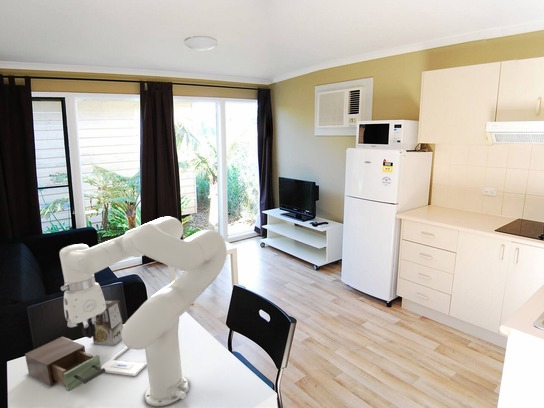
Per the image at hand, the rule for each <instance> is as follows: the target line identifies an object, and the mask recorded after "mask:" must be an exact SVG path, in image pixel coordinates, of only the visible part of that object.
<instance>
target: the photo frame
mask: <svg viewBox="0 0 544 408" xmlns="http://www.w3.org/2000/svg"><path fill="white" fill-rule="evenodd" d="M129 349H130V348H129V347H127V346H126V345H125V346H124V347H123V348H122V349H121V350H119V351H118V352H117V353H115V355H113V356H112V357H111V358H109V359H108V360H107V361H106V362H105V363H103V364H102V365H101V369H102V368H104V369H105V372H104V373H107V374H114V375H115V374H116V375H122V376H123V375H124V376H131V377H132V376H133V377H136V376H137V375H138V374H139V373H140V372H141V371H142V370H143V369H144V368H145V367H147V361H146V360H145V362H144V363H142V362H134V361H126V360H117V358H118V357H119V356H121V355H122V354H123V353H125V352H126V351H127V350H129Z"/></svg>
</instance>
